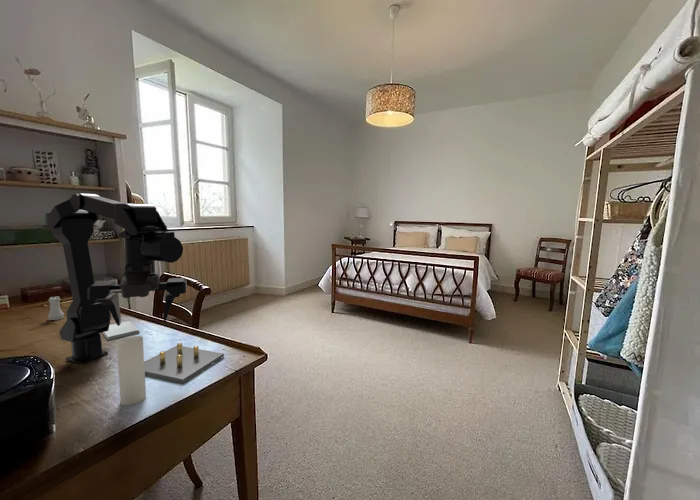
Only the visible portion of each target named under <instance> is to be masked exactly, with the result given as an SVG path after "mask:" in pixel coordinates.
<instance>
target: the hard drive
mask: <svg viewBox="0 0 700 500" xmlns="http://www.w3.org/2000/svg"><path fill="white" fill-rule="evenodd" d="M102 334H103V335H104V337H105V338H106V340H107V341H113V340H116V339H122V338H126V337H130V336H134V335H138V334H140V330H139V328H137V327H136V326H135V325H134V324H133V323H132V322H131V321H130V320H129V321H122V322H121V324H120V326H117V324H116V323H114V324H113V323H112V324H110V325H109V330H108V331H105V332H102ZM133 334H134V335H133Z"/></svg>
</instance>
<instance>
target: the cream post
mask: <svg viewBox="0 0 700 500" xmlns="http://www.w3.org/2000/svg"><path fill="white" fill-rule="evenodd" d="M116 354H117V355H116V357H117V367H118V368H117V369H118V382H119V385H118V386H119V398H120V404H121V405H122V406H133V405H136V404H138V403H141V402H143V401H144V400H145V399H146V397H147V387H146V375H145V368H144V361H145V355H144V337H143V336H141V335H130V336H125V337H121V338H119V339H118V340H117V341H116Z"/></svg>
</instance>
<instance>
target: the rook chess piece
mask: <svg viewBox="0 0 700 500" xmlns="http://www.w3.org/2000/svg"><path fill="white" fill-rule="evenodd" d="M47 301H48V302H49V304H48V305H49V307H50V308H49V312H48V315H47V320H48V321H50V320H54V321H59V320H62V319H64V318H65V313H64V312H63V311H62V309H61V306H60V304H61V302H60V301H61V298H60V296H59V295H58V296H51V297H48V300H47Z"/></svg>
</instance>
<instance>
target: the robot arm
mask: <svg viewBox="0 0 700 500" xmlns="http://www.w3.org/2000/svg"><path fill="white" fill-rule="evenodd" d="M100 216H101V217H106V218H109V219H111V220H113V223H114V224H115V225H117V226H118V227H120V228H122V229H123V230H122V231H121V232H119V234H118V235H117V236H118V238H120V239H123V243H124V244H123V245H124V246H123V247H124V262H125V263H124V273H123V275H122V279H121V281H120V284H117V282H116V280H105V281H104V280H103V281H99V280H98V281H95V276H94V275H95V274H94V271H93V270H94V269H93V265H92V264H93V262H92V258H91V253H90V246H89V242H90V239H91V238H92V236H93V234H94V232H95V224H96V223H97V222H98V220H99V219H100ZM46 222H47V225H48V227H49V228H50V231H51V234H52V237H54V238H55V239H56V240H57V241H58V242H59V243H60V244H62V246H63V253H64V257H65V263H66V270H67V273H68V274H67V275H68V279H69V280H68V281H69V285H70V291H71V297H72V301H71V303H70V305H69V306H68V309H67V311H66V321H65V323H63V325H62V327H61V328H60V329H59V335H60V340H63V341H66V342H70V343H71V354H72V355H70V356H68V357H65V361H68V362H72V363H76V364H81V365H82V364H83V365H84V364H86V363H88V362H91V361H92V360H95V359H99V358H100V357H103V356H105V355H108V353H109V352H108V351H105V350H103V345H102V344H103V343H102V339H101V337H102V336H101V335H102V334H103V333H102V332H105V331H108V330H109V325H111V319H112V318H113V321H114V322H115V324H117V326H120V324H121V323H122V322H121V321H122V318H121V316H122V315H121V306H120V298H119V294H121V297H122V298H124V299H130V298H135V297H136V298H137V297H138V298H145V297H148V296H149V295H150V292H156V291H158V292H160V291H166V293H165V301H164V311H163V322H166V321H167V320H168V319H167V318H168V315H169V312H170V310H171V306H172V305H173V302H174V300H175V298H180V297H181V294H186V293H187V289H188V284H187V283H188V280H187V279H186V278H185V277H172V278H168V280H167V281H165V282H164V281H163V282H160V280H161V279H160V274H159V272H156V262H162V263H167V264H169V263H175V262H178V261H179V259H181V257H182V255H183V252H184V247H183V244H182V242H181V241H180V240H179V238H177V237H176V236H175V235H176V234H175V232H174V231H169V230H168V226H167V225H166V224H165V222H164V220H163V219H162V217H161V215H160V213H159V211H158V210H157V207H156V206H155V205H153V204H148V203H147V204H146V203H144V204H143V203H124V202H121V201H118V200H114V199H111V198H107V197H103V196H100V195H98V194H96V193H81V192H77V193H74V194H72V195H71V197H69V199H67V200H65V201H63V202H61V203H58V204H56V205H54V207H53V208H52V209H51V211H50V212H49V214H48V215H47V217H46ZM101 333H102V334H101Z"/></svg>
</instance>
